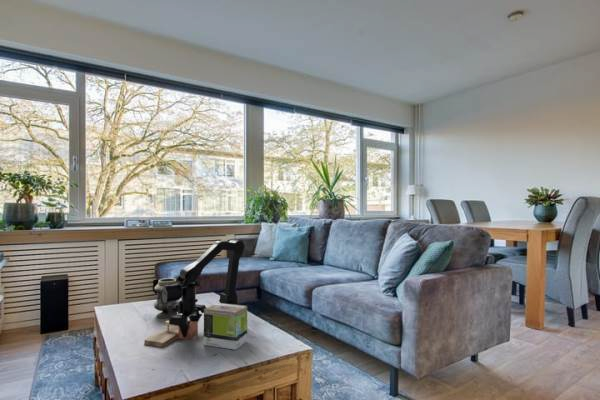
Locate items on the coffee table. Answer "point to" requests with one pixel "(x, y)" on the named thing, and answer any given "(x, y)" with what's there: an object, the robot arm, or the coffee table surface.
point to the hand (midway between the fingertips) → (188, 334)
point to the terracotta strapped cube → (191, 331)
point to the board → (163, 337)
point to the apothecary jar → (160, 303)
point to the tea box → (225, 325)
